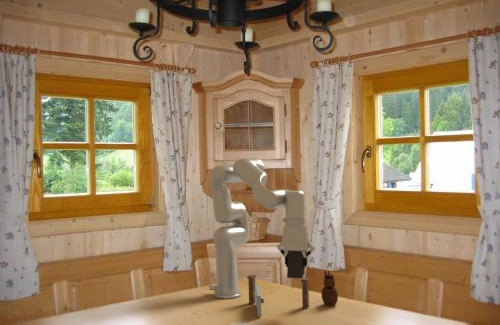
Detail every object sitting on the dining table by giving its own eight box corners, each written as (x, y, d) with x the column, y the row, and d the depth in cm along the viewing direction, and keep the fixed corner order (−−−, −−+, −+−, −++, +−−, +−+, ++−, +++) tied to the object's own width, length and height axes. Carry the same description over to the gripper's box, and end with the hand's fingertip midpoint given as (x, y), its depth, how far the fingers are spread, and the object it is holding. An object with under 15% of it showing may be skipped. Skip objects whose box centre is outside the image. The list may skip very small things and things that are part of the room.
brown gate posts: (247, 304, 223) (247, 276, 223) (250, 302, 227) (250, 274, 227) (308, 308, 214) (307, 279, 214) (310, 306, 218) (309, 277, 218)
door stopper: (302, 278, 203) (301, 247, 202) (287, 278, 204) (286, 247, 204) (304, 273, 211) (304, 243, 211) (290, 272, 213) (289, 243, 212)
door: (256, 303, 223) (255, 284, 222) (262, 303, 223) (262, 284, 223) (257, 316, 204) (257, 295, 204) (264, 316, 204) (263, 295, 204)
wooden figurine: (319, 305, 220) (318, 269, 219) (327, 302, 224) (326, 267, 224) (332, 307, 215) (331, 271, 215) (340, 304, 219) (339, 269, 219)
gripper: (271, 222, 207) (272, 267, 207) (314, 223, 201) (315, 270, 201) (277, 220, 214) (277, 263, 214) (318, 221, 208) (319, 266, 208)
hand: (296, 266), depth 208 cm, fingers closed on door stopper, 6 cm apart
